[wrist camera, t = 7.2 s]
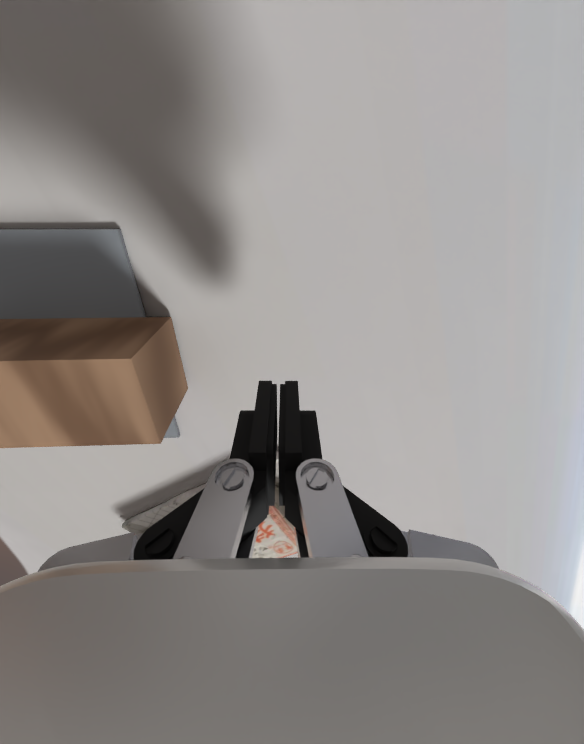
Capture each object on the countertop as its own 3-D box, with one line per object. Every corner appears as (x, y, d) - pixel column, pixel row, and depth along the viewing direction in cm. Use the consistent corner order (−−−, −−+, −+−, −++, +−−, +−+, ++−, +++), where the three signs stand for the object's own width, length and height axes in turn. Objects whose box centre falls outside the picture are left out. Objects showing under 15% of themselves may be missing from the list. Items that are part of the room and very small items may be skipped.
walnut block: (130, 358, 12) (-118, 362, 11) (160, 443, 14) (-41, 449, 14) (170, 317, 16) (-9, 319, 16) (188, 388, 18) (34, 391, 18)
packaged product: (182, 609, 27) (98, 570, 23) (195, 556, 32) (126, 514, 27) (344, 556, 23) (282, 496, 18) (335, 503, 27) (282, 442, 23)
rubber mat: (120, 228, 14) (117, 229, 13) (179, 434, 21) (178, 437, 21) (-133, 229, 13) (-141, 229, 13) (18, 438, 21) (15, 441, 20)
